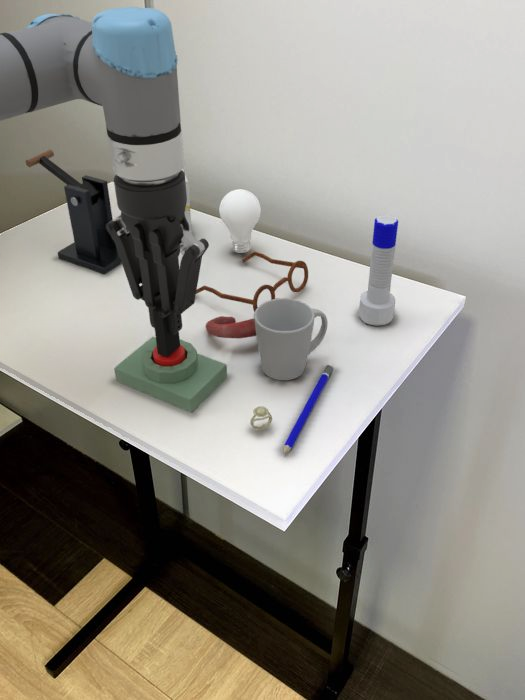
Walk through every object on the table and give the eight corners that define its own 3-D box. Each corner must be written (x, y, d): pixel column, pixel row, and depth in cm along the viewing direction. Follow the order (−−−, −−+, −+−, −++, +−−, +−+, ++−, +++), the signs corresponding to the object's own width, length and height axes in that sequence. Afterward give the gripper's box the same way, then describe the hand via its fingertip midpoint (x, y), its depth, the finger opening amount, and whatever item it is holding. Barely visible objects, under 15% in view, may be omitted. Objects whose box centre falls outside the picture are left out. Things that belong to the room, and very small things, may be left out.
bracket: (58, 258, 117) (43, 186, 109) (91, 238, 122) (79, 168, 114) (104, 274, 112) (92, 200, 105) (136, 253, 118) (127, 181, 110)
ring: (254, 437, 83) (253, 418, 81) (247, 425, 84) (247, 407, 82) (275, 431, 84) (275, 412, 82) (268, 420, 85) (268, 401, 83)
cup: (245, 359, 94) (243, 306, 89) (310, 339, 98) (312, 287, 93) (270, 393, 89) (270, 338, 84) (338, 370, 92) (342, 317, 87)
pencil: (325, 364, 93) (332, 363, 92) (327, 370, 93) (334, 369, 93) (278, 451, 80) (286, 450, 80) (281, 457, 81) (289, 456, 80)
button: (147, 365, 89) (146, 354, 88) (167, 349, 92) (165, 338, 91) (173, 375, 88) (171, 364, 87) (191, 358, 90) (191, 347, 89)
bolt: (361, 305, 105) (395, 310, 104) (355, 323, 101) (390, 329, 100) (370, 208, 96) (408, 213, 94) (364, 225, 92) (403, 230, 91)
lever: (24, 167, 111) (26, 155, 109) (47, 156, 115) (49, 144, 113) (81, 211, 110) (84, 199, 108) (103, 199, 113) (106, 187, 111)
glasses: (258, 325, 101) (257, 296, 98) (189, 296, 107) (187, 267, 104) (309, 286, 109) (311, 257, 106) (243, 260, 115) (243, 233, 112)
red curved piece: (273, 327, 106) (200, 347, 101) (267, 286, 104) (193, 304, 99) (313, 341, 96) (235, 363, 91) (308, 296, 94) (228, 316, 89)
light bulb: (268, 256, 117) (267, 195, 110) (231, 266, 114) (228, 203, 108) (250, 239, 121) (249, 179, 115) (215, 248, 119) (211, 187, 112)
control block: (116, 381, 91) (111, 356, 89) (154, 348, 97) (151, 325, 94) (191, 413, 86) (189, 388, 84) (227, 377, 92) (226, 353, 89)
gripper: (78, 171, 75) (109, 349, 89) (177, 198, 69) (194, 383, 83) (124, 148, 80) (146, 320, 94) (220, 171, 74) (228, 350, 88)
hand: (169, 349), depth 89 cm, fingers closed
